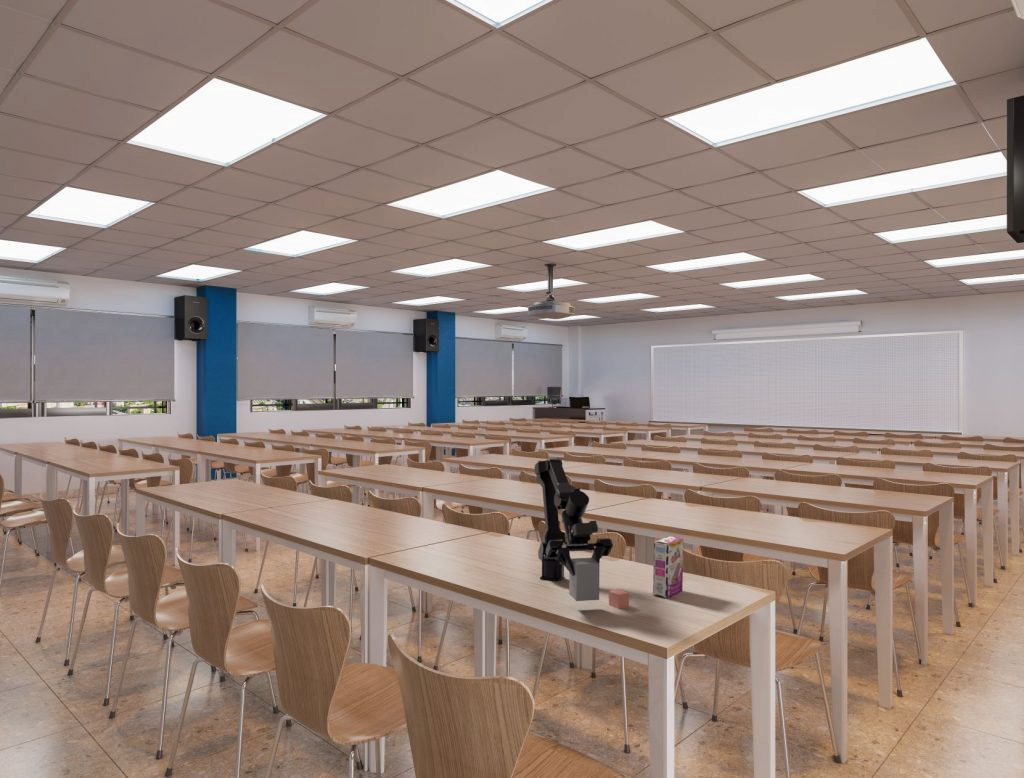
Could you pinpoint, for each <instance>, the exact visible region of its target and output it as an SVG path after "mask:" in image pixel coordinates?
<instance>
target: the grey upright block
mask: <svg viewBox="0 0 1024 778" xmlns="http://www.w3.org/2000/svg"><path fill="white" fill-rule="evenodd" d="M571 561H572V564H573V567H574V572H575V575H574V576H572V574H571V573H570V572H569V571H568V573H569V575H568V577H569V580H568V583H569V584H568V586H569V587H568V591H569V592H568V595H570V596H571V598H573V599H574V600H575V602H584V601H585V602H587V601H600V565H601V563H598V562H597V561H595V560H594V559H593V558H591V557H579V558H577V557H576V558H573V557H571Z"/></svg>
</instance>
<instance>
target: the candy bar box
mask: <svg viewBox="0 0 1024 778" xmlns="http://www.w3.org/2000/svg"><path fill="white" fill-rule="evenodd" d="M683 566H684V538H682V537H676V536H668V537H665V538H661V539H658V540H654V541H653V577H652V578H653V583H652V586H653V587H652V596H655V597H660V598H664V599H667V598H670V597H671V596H674V595H676V594H678V593H680V592H682V591H683V585H684V584H683V581H684V580H683V577H684V576H683V572H684V567H683Z"/></svg>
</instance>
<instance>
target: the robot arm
mask: <svg viewBox="0 0 1024 778" xmlns="http://www.w3.org/2000/svg"><path fill="white" fill-rule="evenodd" d="M534 475H536V480H537V482H538V484H539V486H541V489H542V490H541V491H542V500H543V510H544V511H543V513H544V525H545V530H544V533H543V535H542V537H541V542H540V544H539V548H538V551H537V555H538V560H540V561H541V576H539V579H540V580H546V581H547V580H548V581H555V582H560V581H561V580H562V579H563V578H564V577H565V568H566V570H567V571H568V573H569V572H570V573H571V574H572V576H574V575H575V572H574V567H573V564H572V561H571V559H572V557H571V554H570V552H591V553H592V555H591V557H590V558H593V559H594V560H595V561H597V562H598V563H600V561H601V559H602V557H607V556H609V555H610V553H611V551H612V548H614V544H613V540H612V539H611V538H610V537H601V538H599V537H598V538H597V540H596V541H595V543H589V542H590V541H591V535H593V534H597V532H598V531H599V527H598V524H597V520H590V521H588V522H583V518H582V517H583V516H584V515H585V513H586V510H587V508H588V505H589V502H590V497H589V496H588V494H587V493H585V492H584V491H582V490H581V488H580V487H579V488H578V487H575V486H573V485H572V484H570V481H569V480H568V477H567V474H566V472H565V469H564V467H563V461H562V459H561V458H548V459H546V460H538V461H537V462H536V463H535V464H534ZM560 510H561V511H562V512H561V523H562V526H563V528H564V531H562V530H561V528H560V522H559V521H560V520H559V519H560V518H559V511H560ZM600 564H601V563H600Z"/></svg>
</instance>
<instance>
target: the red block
mask: <svg viewBox="0 0 1024 778" xmlns="http://www.w3.org/2000/svg"><path fill="white" fill-rule="evenodd" d="M608 606H610V607H612V608H615V609H617V610H620V609H624V608H629V607H630V592H628V591H626V590H623V589H621V588H620V589H615V590H614V589H613V590H609V591H608Z"/></svg>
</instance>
